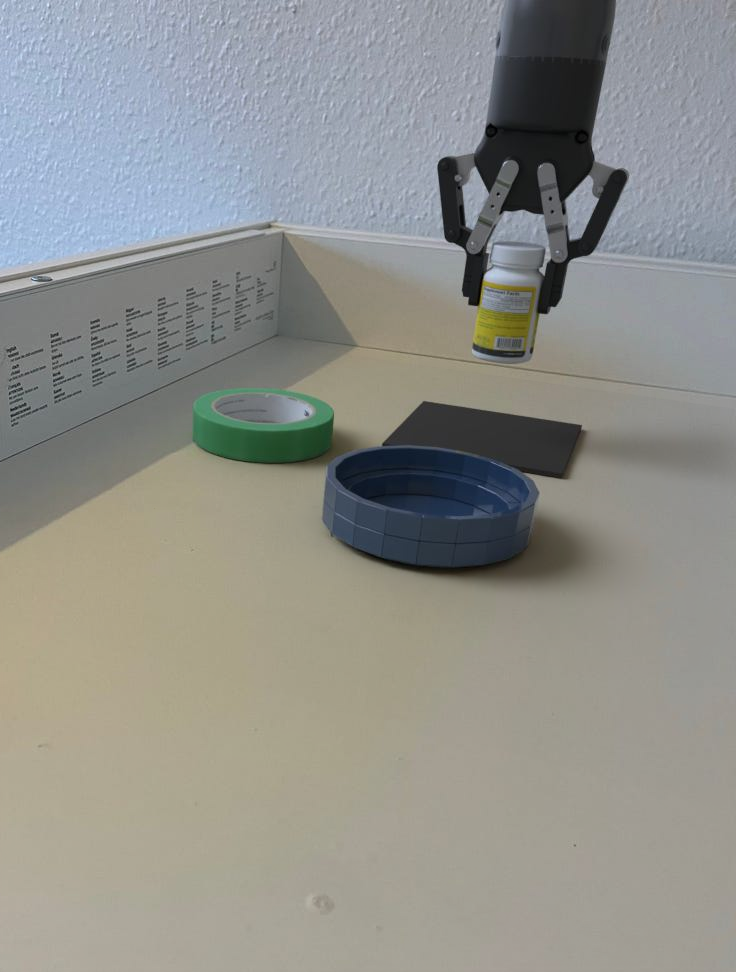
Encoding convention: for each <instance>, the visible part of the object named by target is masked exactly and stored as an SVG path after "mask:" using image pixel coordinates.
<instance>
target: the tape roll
mask: <svg viewBox="0 0 736 972" xmlns="http://www.w3.org/2000/svg"><path fill="white" fill-rule="evenodd" d="M192 407H193V408H192V439H193V442H194V443H195V444H196V445H197V446H198V447H199V448H201V449H203V450H204V451H206V452H208V453H211V454H213V455H216V456H219V457H222V458H227V459H230V460H236V461H242V462H250V463H261V464H263V463H264V464H283V463H285V464H286V463H294V462H295V463H296V462H303V461H308V460H310V459H314V458H317V457H319V456H322V455H324V454H325V453H326V452H328V451H329V450H330V448H331V447H332V442H333V441H332V440H333V432H334V423H335V422H334V421H335V411H334V409H333V407H331V405H330V404H329V403H326V402H325V401H323V400H321V399H319V398H317V397H314V396H311V395H308V394H304V393H300V392H296V391H290V390H283V389H276V388H264V387H263V388H262V387H261V388H260V387H242V388H241V387H240V388H239V387H238V388H227V389H221V390H217V391H213V392H209V393H206V394H203V395H202V396H200V397H198V398H197V399H196V400H195V401H194V403H193V406H192Z"/></svg>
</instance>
